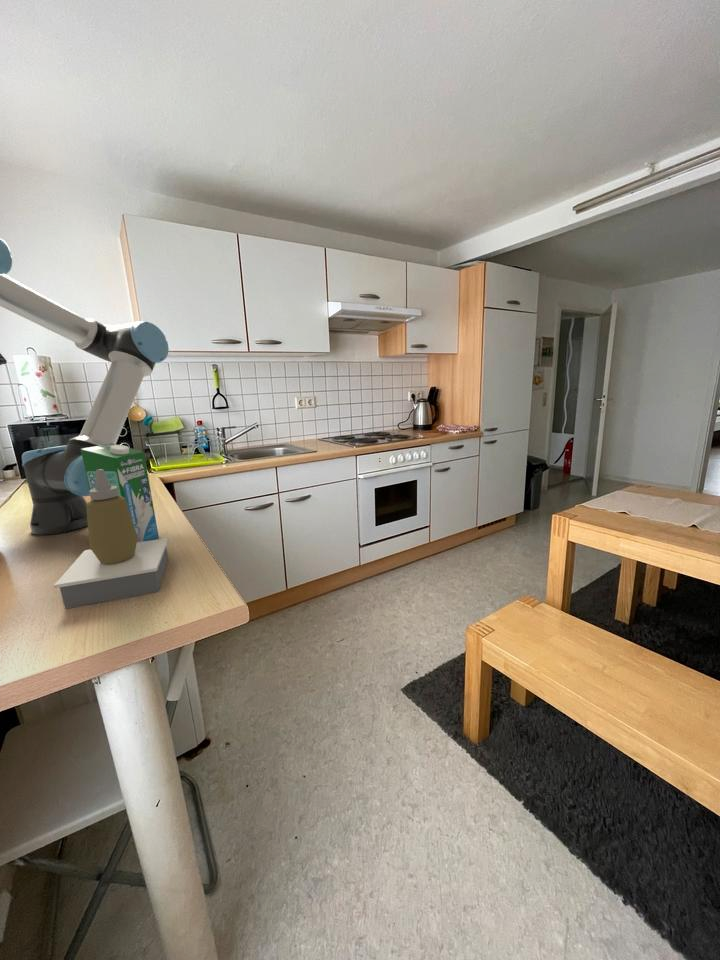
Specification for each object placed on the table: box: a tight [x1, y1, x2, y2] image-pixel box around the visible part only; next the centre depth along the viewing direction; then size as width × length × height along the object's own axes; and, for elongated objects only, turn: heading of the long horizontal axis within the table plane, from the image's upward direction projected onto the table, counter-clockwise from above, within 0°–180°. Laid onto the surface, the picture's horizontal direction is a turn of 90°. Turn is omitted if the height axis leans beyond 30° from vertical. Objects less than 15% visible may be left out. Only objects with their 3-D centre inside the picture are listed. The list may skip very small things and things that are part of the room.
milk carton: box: [81, 443, 160, 542], centre depth 95 cm, size 9×9×25 cm
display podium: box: [54, 537, 170, 609], centre depth 77 cm, size 16×16×5 cm
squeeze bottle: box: [86, 469, 138, 564], centre depth 75 cm, size 8×8×18 cm
